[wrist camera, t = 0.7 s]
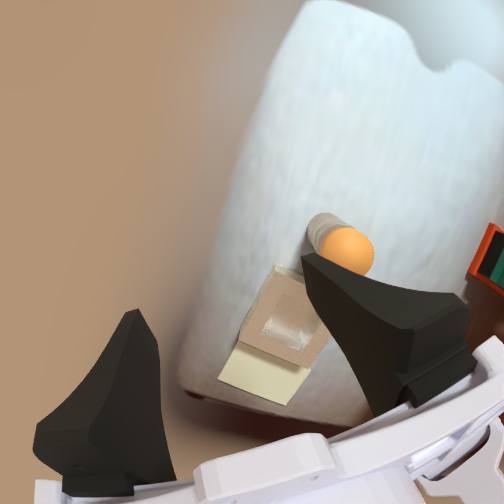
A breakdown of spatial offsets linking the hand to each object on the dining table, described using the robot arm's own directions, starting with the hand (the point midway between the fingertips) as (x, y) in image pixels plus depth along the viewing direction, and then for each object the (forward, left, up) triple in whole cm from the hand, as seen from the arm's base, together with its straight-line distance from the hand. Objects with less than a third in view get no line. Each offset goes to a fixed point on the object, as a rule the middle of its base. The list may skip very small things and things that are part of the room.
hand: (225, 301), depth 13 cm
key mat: (-9, +14, -18) cm, 25 cm away
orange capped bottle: (-7, -3, -18) cm, 20 cm away
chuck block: (-8, +6, -18) cm, 21 cm away
